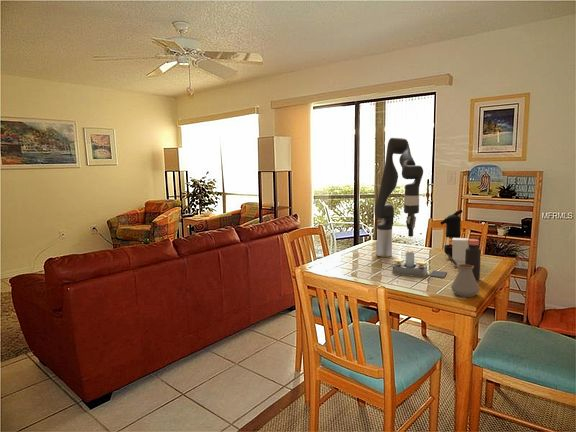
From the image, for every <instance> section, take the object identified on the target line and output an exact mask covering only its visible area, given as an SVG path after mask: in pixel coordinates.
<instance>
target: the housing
mask: <svg viewBox="0 0 576 432" xmlns="http://www.w3.org/2000/svg"><path fill="white" fill-rule="evenodd" d="M391 267H392V269H391V271H392V273H391V274H393V275H400V276H401V275H402V276H410V277H418V278H424V277H425V276H426V275H427V273H428V264H426V265H424V268H421V267H420V265H416V263H414V268H413V267H406V262H404V261H403V262H402V263H400V265H397V263H396V262H394V264H393V265H392V266H391Z"/></svg>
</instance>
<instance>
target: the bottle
mask: <svg viewBox="0 0 576 432" xmlns="http://www.w3.org/2000/svg"><path fill="white" fill-rule="evenodd" d="M479 245H480V239H476V238H468V248H466V252H465V264H467V265H472V266H474V268H473V270H472V272H473V275H474V277H475V279H476V282H477V281H480V277H481V274H480V273H481V254H482V253H481V252H482V251H481V249H480V248H479Z"/></svg>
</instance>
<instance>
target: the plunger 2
mask: <svg viewBox="0 0 576 432" xmlns="http://www.w3.org/2000/svg"><path fill="white" fill-rule="evenodd" d="M415 264H416V265H420V267H421V268H424V265H428V264H427V261H424V260H417V261H416V263H415Z"/></svg>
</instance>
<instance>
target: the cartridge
mask: <svg viewBox="0 0 576 432" xmlns="http://www.w3.org/2000/svg"><path fill="white" fill-rule="evenodd" d="M405 263H406V267H413V268H414V264H415V252H414V250H406V252H405Z"/></svg>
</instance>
